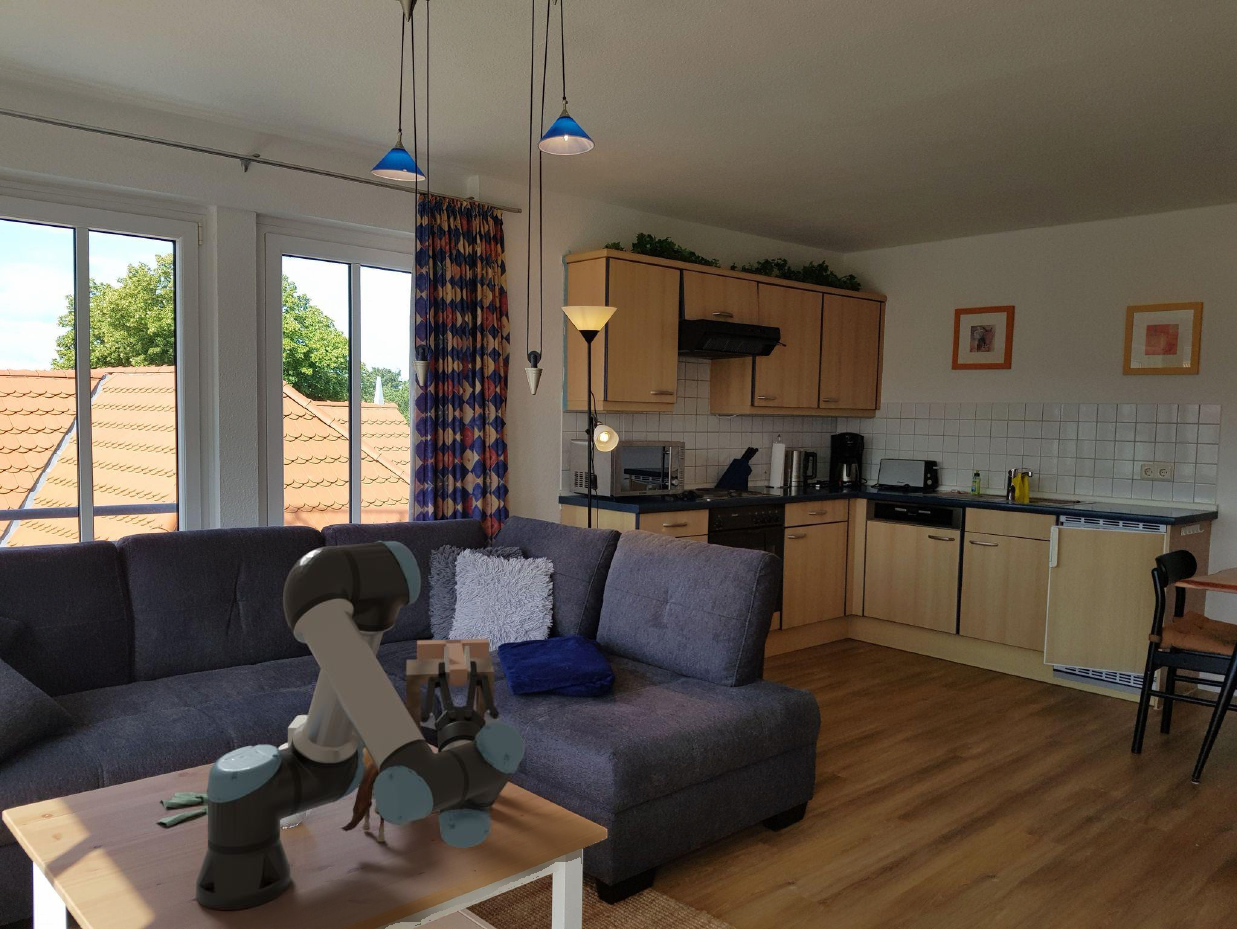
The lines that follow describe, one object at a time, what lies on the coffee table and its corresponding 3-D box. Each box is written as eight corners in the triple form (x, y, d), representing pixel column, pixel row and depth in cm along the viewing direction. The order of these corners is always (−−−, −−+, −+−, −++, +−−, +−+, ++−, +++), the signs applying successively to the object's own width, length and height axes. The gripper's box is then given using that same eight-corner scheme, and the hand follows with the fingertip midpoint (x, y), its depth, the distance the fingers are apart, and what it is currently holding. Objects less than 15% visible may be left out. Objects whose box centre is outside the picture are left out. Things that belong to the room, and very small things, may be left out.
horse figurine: (376, 790, 197) (377, 699, 196) (411, 790, 197) (412, 699, 196) (339, 859, 166) (341, 750, 165) (381, 858, 166) (383, 750, 165)
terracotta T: (417, 687, 155) (418, 670, 155) (416, 655, 176) (417, 640, 176) (498, 684, 158) (498, 667, 158) (487, 653, 179) (488, 638, 179)
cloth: (246, 824, 180) (246, 812, 180) (123, 843, 171) (123, 831, 171) (242, 786, 199) (242, 776, 199) (131, 802, 189) (131, 791, 189)
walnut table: (404, 818, 183) (406, 674, 182) (404, 794, 195) (406, 659, 194) (491, 811, 187) (494, 671, 186) (487, 789, 199) (489, 656, 198)
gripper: (410, 772, 145) (411, 667, 164) (509, 765, 148) (498, 664, 168) (411, 740, 141) (412, 637, 160) (512, 735, 144) (501, 634, 164)
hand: (456, 651), depth 164 cm, fingers closed on terracotta T, 3 cm apart
